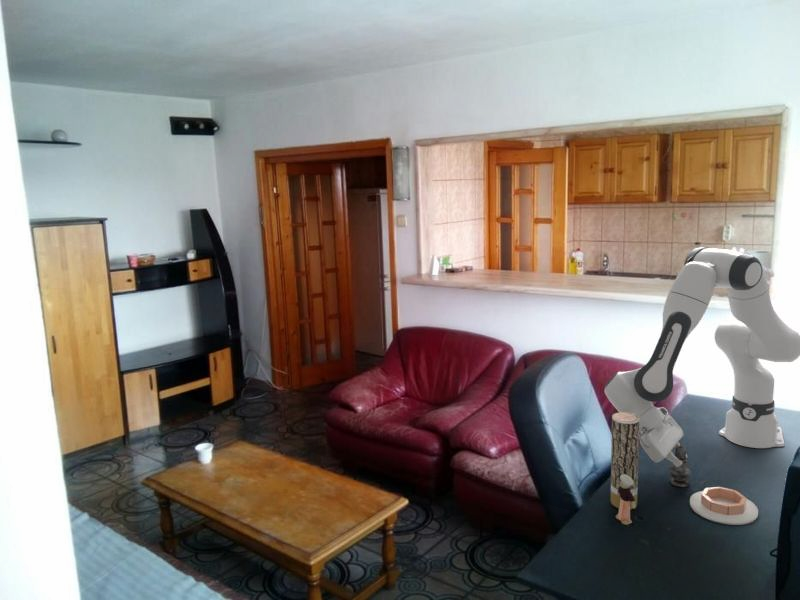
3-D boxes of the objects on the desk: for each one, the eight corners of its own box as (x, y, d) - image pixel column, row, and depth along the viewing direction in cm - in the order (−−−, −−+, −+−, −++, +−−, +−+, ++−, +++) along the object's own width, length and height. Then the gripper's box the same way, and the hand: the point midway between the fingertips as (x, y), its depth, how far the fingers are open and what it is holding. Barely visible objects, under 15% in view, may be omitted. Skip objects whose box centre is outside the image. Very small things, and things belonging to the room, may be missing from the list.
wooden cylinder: (606, 505, 169) (607, 418, 165) (617, 495, 174) (618, 410, 170) (630, 513, 165) (633, 424, 160) (641, 503, 170) (643, 416, 165)
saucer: (698, 488, 176) (698, 476, 176) (762, 504, 167) (763, 491, 166) (682, 512, 164) (683, 500, 163) (751, 531, 154) (752, 518, 154)
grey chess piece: (693, 487, 176) (694, 447, 174) (670, 486, 177) (672, 447, 175) (688, 478, 182) (689, 439, 179) (666, 477, 183) (667, 438, 181)
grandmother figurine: (608, 515, 164) (609, 470, 162) (619, 512, 166) (620, 467, 163) (629, 530, 157) (631, 483, 155) (641, 526, 159) (642, 479, 157)
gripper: (644, 428, 172) (681, 470, 168) (666, 405, 188) (700, 443, 184) (628, 440, 176) (663, 481, 172) (650, 417, 192) (683, 454, 187)
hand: (682, 461), depth 178 cm, fingers closed on grey chess piece, 4 cm apart
